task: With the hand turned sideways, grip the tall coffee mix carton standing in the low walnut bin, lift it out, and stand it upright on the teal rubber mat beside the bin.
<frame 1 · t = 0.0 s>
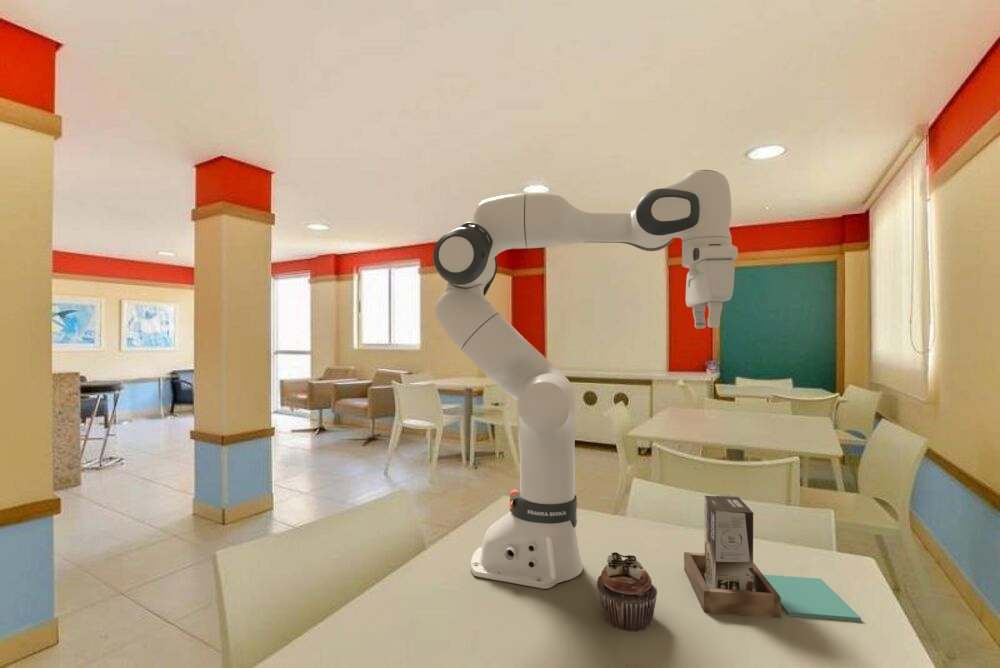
hand: (706, 328, 94), 48 cm above the table, tool pointing down, fingers open, 8 cm apart
coffee box: (727, 593, 88), resting in walnut bin
walnut bin: (727, 591, 88), on the table
cupcake: (626, 618, 80), on the table
teal mat: (805, 597, 86), on the table
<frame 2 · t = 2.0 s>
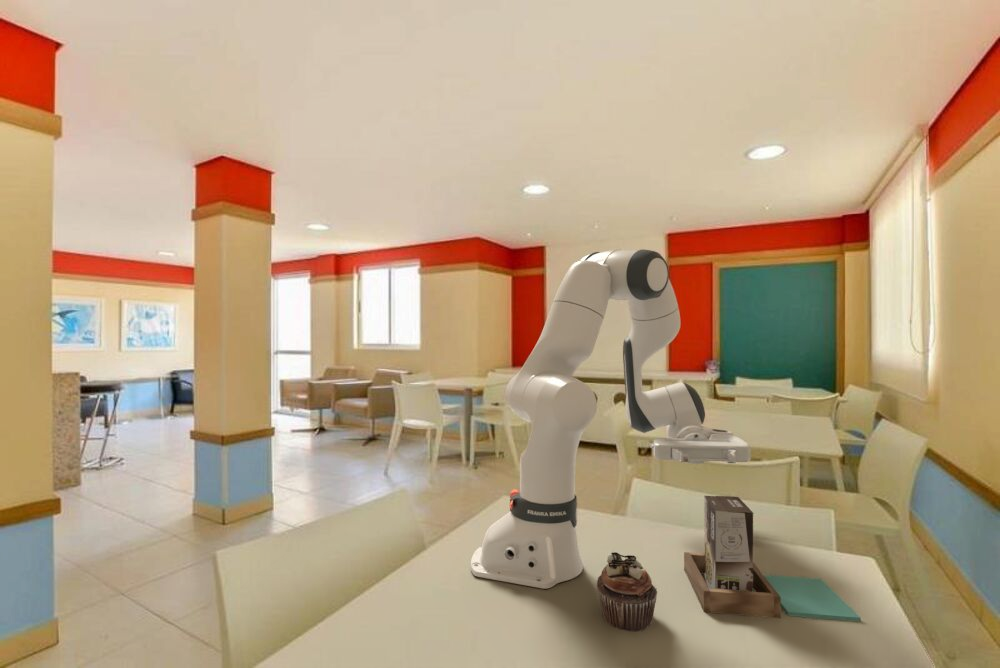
hand: (708, 459, 102), 21 cm above the table, tool horizontal, fingers open, 8 cm apart
nothing on the table moved.
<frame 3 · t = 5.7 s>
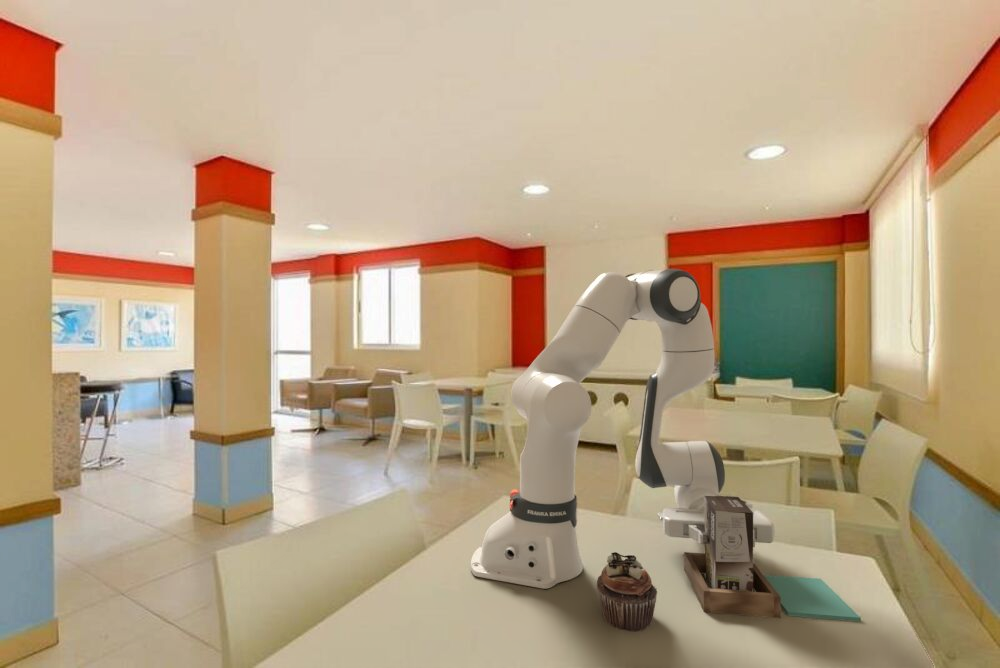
hand: (727, 541, 88), 9 cm above the table, tool horizontal, fingers closed on coffee box, 7 cm apart
coffee box: (727, 593, 88), resting in walnut bin, touching gripper
everything else where it was.
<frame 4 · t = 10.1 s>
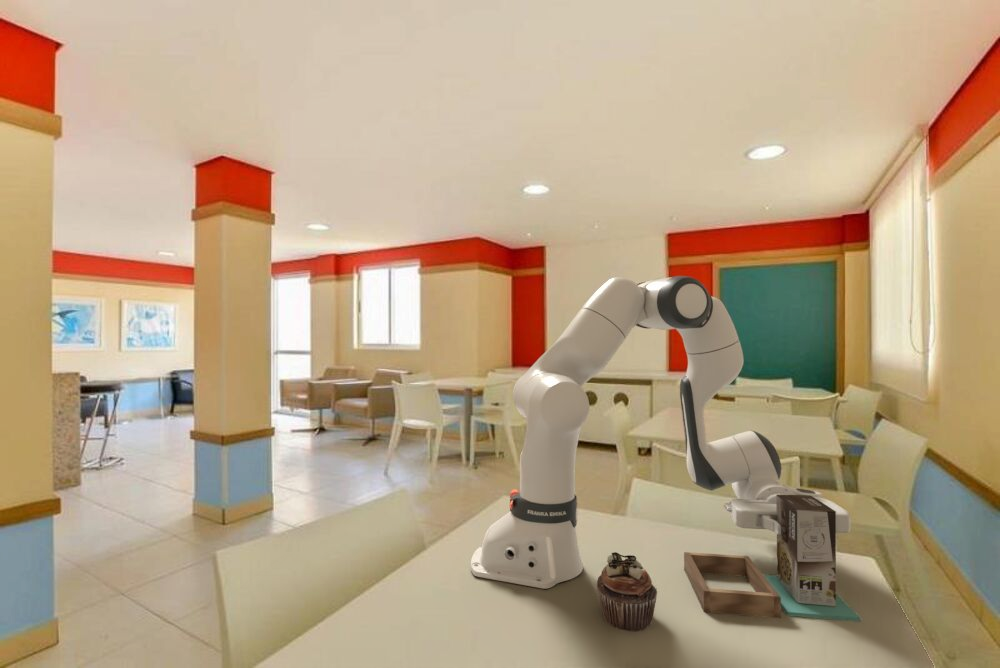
hand: (806, 531, 87), 12 cm above the table, tool horizontal, fingers closed on coffee box, 6 cm apart
coffee box: (805, 593, 87), resting on teal mat, touching gripper
everything else where it was.
when the fingers open (11 cm above the table, at t = 10.9 s): coffee box stays where it is, resting on teal mat.
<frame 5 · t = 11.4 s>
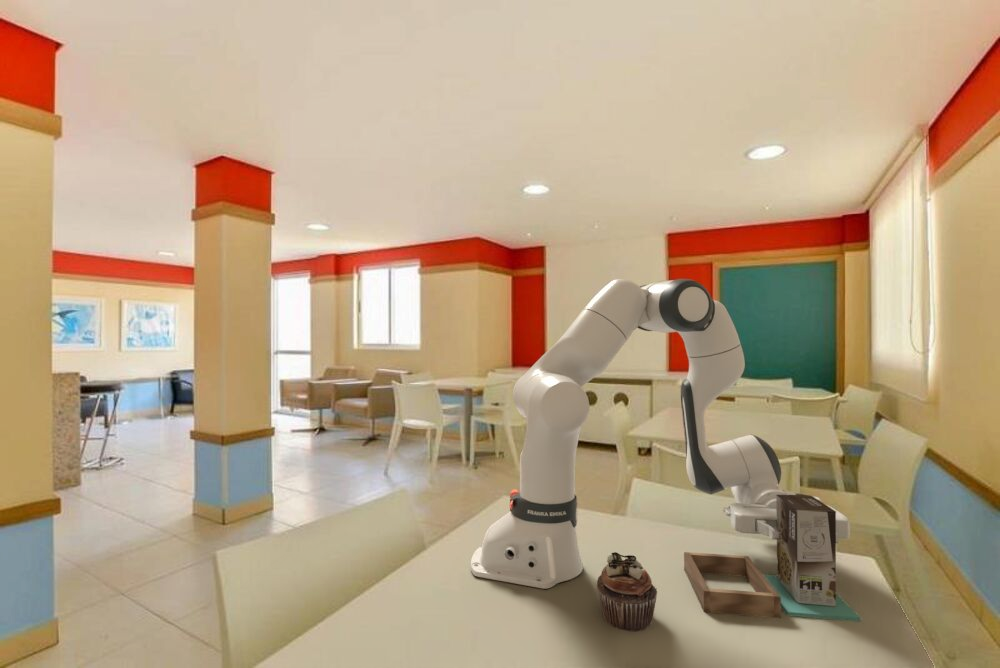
hand: (805, 537, 86), 11 cm above the table, tool horizontal, fingers open, 8 cm apart
coffee box: (805, 593, 87), resting on teal mat
everything else where it was.
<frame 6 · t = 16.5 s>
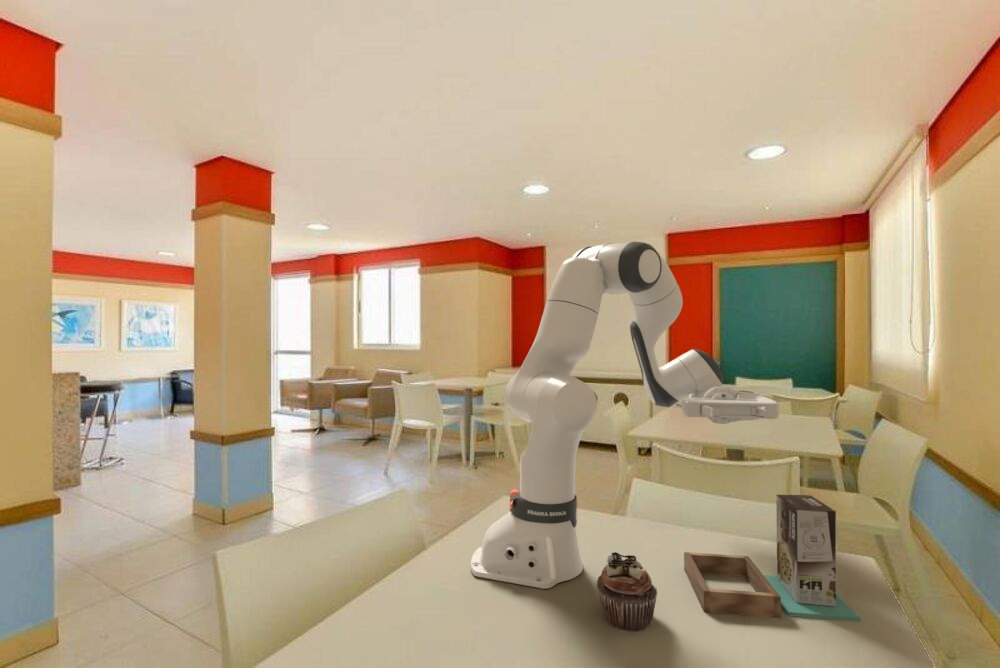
hand: (739, 413, 103), 30 cm above the table, tool horizontal, fingers open, 8 cm apart
nothing on the table moved.
at the end: coffee box inside the target area on the teal mat (0.9 cm from its centre), point 0.4 cm above the teal mat's base; coffee box tilted 0°; the gripper is holding nothing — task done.
